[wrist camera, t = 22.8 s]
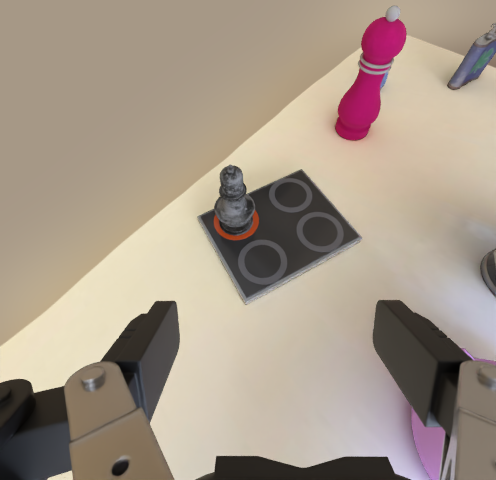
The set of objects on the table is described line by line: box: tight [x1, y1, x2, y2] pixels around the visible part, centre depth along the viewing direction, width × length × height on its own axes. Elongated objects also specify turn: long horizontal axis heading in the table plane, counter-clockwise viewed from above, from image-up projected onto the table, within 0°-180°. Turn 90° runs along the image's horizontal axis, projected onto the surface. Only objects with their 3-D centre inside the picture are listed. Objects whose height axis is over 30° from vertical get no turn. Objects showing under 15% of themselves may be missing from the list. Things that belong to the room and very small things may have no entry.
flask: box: [448, 23, 496, 90], centre depth 57 cm, size 9×3×11 cm, turn 123°
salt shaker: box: [214, 165, 255, 236], centre depth 38 cm, size 6×6×12 cm
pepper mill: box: [335, 6, 406, 140], centre depth 47 cm, size 7×7×20 cm
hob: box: [197, 169, 362, 305], centre depth 44 cm, size 20×16×2 cm
